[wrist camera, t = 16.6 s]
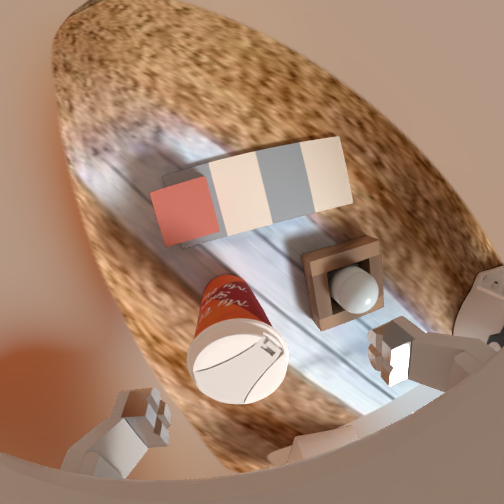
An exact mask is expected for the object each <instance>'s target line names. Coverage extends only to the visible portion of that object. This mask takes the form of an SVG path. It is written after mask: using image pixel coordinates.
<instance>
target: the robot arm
mask: <svg viewBox="0 0 504 504" xmlns="http://www.w3.org/2000/svg"><path fill="white" fill-rule="evenodd" d="M368 340H369V341H370V342H371V344H370V346H369V348H368V356H369V360H370V363H371V364H372V366H373V368H374V369H375V370H377V371H381V377H382V379H383V380H384V381H385V382H386V383H387V385H388V386H392V385H394V384H396V383H398V382H400V381H402V380H404V379H406V378H408V379H410V380H413V381H415V382H418V383H421V384H423V385H426V386H429V387H432V388H434V389H437V390H440V391H443V392H445V393H444V394H443V395H441V396H439V397H438V398H436V399H435V400H433V401H432V402H430V403H428V404H427V405H425V406H423V407H422V408H420V409H418V410H417V411H415V412H413V413H411V414H410V415H408V416H406V417H404V418H402V419H401V420H399V421H397V422H395V423H393V424H391V425H389V426H387V427H385V428H383V429H380V430H378V431H376V432H374V433H372V434H370V435H367V436H365V437H363V438H361V439H358V440H356V441H353V442H351V443H348V444H346V445H343V446H341V447H338V448H335V449H333V450H330V451H327V452H324V453H321V454H318V455H315V456H312V457H309V458H305V459H302V460H299V461H295V462H291V463H288V464H284V465H280V466H276V467H272V468H267V469H262V470H258V471H253V472H247V473H241V474H235V475H229V476H221V477H213V478H202V479H189V480H165V481H164V480H129V479H125V478H126V477H127V476H128V474H129V473H130V472H131V471H132V469H133V468H134V467H135V466H136V464H137V463H138V462H139V460H140V459H141V458H142V456H143V455H144V454H145V453H146V451H147V450H148V448H152V447H165V446H168V443H169V435H170V433H169V432H168V430H167V428H168V427H169V426H170V425H171V414H170V410H169V408H168V406H167V404H166V403H165V402H163V401H162V400H160V397H161V394H160V393H159V391H158V390H157V389H156V388H146V389H135V390H126V391H121V392H119V394H118V396H117V399H116V401H115V404H114V407H113V409H112V412H111V414H110V417H109V418H107V419H105V420H104V421H102V422H101V423H100V424H99V425H97V426H96V427H95V428H94V429H93V430H91V431H90V432H89V433H88V434H86V435H85V436H84V437H83V438H82V439H80V440H79V441H78V442H76V443H75V444H74V445H73V446H72V447H70V448H69V449H68V451H67V454H66V456H65V459H64V461H63V464H62V466H61V469H60V470H58V469H54V468H50V467H46V466H42V465H39V464H35V463H32V462H29V461H25V460H22V459H19V458H17V457H13V456H11V455H8V454H5V453H0V504H504V265H503V266H500V267H496V268H493V269H490V270H486V271H483V272H480V273H478V275H477V277H476V279H475V282H474V284H473V287H472V289H471V291H470V292H469V294H468V296H467V297H466V299H465V300H464V302H463V304H462V306H461V308H460V311H459V313H458V316H457V319H456V322H455V326H454V332H453V335H446V334H439V333H432V332H428V333H425V332H423V331H422V330H421V329H419V328H418V327H417V326H416V325H414V324H413V323H412V322H410V321H409V320H408V319H406V318H405V317H403V316H400V317H398V318H396V319H394V320H391V321H390V322H388V323H385V324H383V325H381V326H378V327H376V328H374V329H371V330H369V332H368Z"/></svg>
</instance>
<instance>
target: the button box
mask: <svg viewBox="0 0 504 504" xmlns="http://www.w3.org/2000/svg"><path fill="white" fill-rule="evenodd" d="M301 258H302V263H303V268H304V273H305V279H306V284H307V290H308V295H309V301H310V306H311V312H312V318H313V321H314V322H315V324H316V325H317V327H318V328H319V329H320V331H324V330H327V329H330V328H332V327H335V326H338V325H340V324H343V323H346V322H348V321H351V320H353V319H356V318H358V317H361V316H363V315H366V314H368V313H371V312H373V311H375V310H378V309H380V308H382V307H384V298H383V278H382V263H381V252H380V242H379V240H377V239H375V238H372V237H370V236H367V235H366V236H363V237H359V238H356V239H353V240H349V241H346V242H343V243H340V244H336V245H333V246H330V247H326V248H323V249H319V250H316V251H313V252H309V253H306V254H303V255H301ZM356 262H358V265H359V268H361V269H362V270H364V271H366V272H367V273H369V274H370V275H371V276H373V278H374V279H375V280H376V282H377V285H378V290H379V293H378V298H377V301H376V303H375V304H374V306H373V307H372V308H371V309H369V310H368V311H366V312H364V313H359V314H355V313H350V312H348V311H346V310H345V309H344V308H343V307H342V306H341V305H340V304H339V303H337V302H336V301H333V302H331V299H330V292H329V285H328V278H327V272H329V271H332V270H335V269H338V268H341V267H344V266H347V265H350V264H353V263H356Z"/></svg>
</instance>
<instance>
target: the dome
mask: <svg viewBox="0 0 504 504" xmlns="http://www.w3.org/2000/svg"><path fill="white" fill-rule="evenodd" d="M327 278H328V285H329V292H330V296H331V297H332V298H333V299H334V300H335V301H336V302H337V303H339V304H340V305H341V306H342V307H343V308H344V309H345V310H346V311H348V312H350V313H355V314H359V313H364V312H366V311H368V310H369V309H371V308H372V307H373V306H374V304H375V303H376V301H377V298H378V293H379V290H378V285H377V282H376V280H375V279H374V278H373V276H371V275H370V274H369V273H367V272H366V271H364V270H362V269H361V268H359V267H357V266H356V265H354V264H350V265H347V266H344V267H341V268H338V269H335V270H332V271H329V272H328V273H327Z"/></svg>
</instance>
